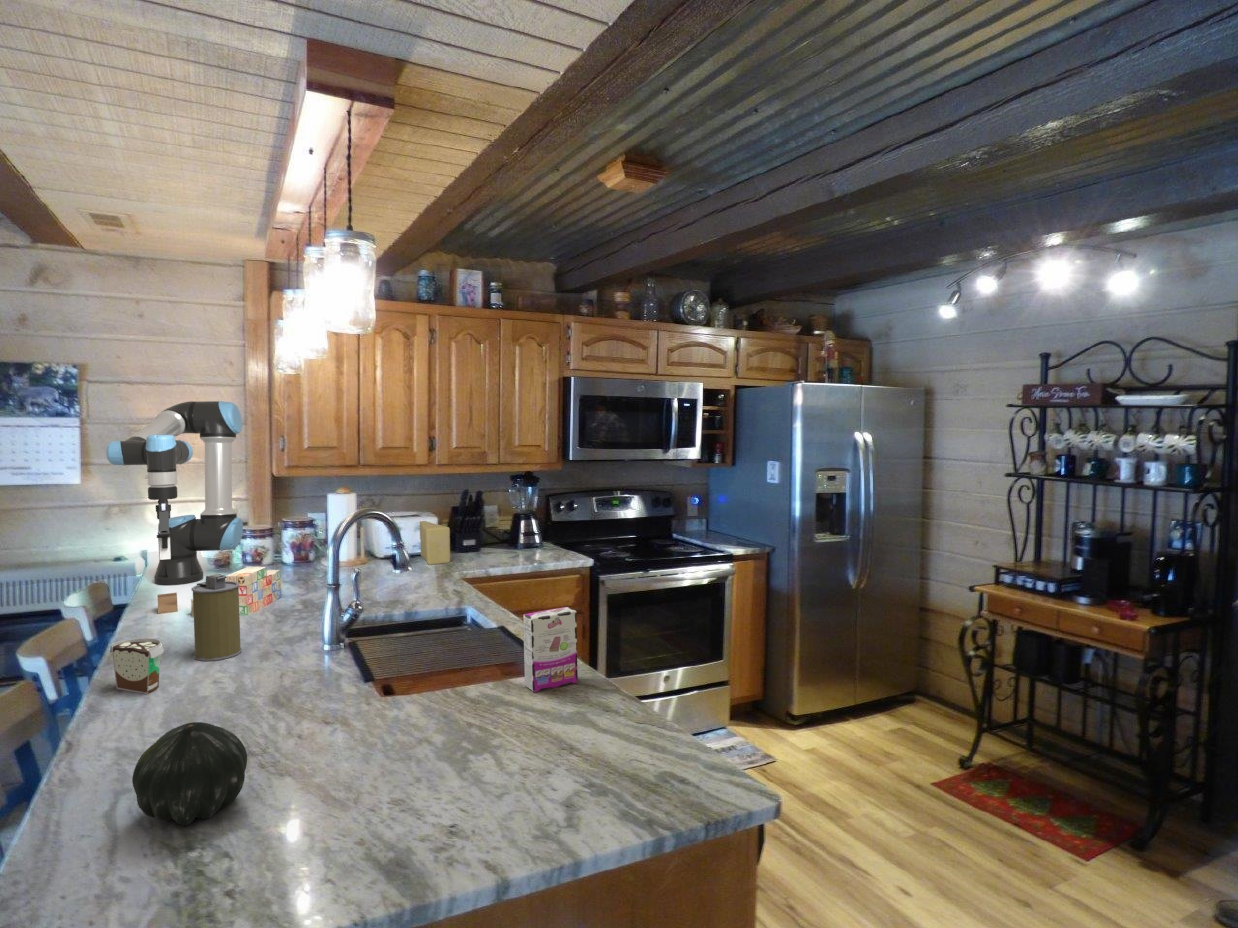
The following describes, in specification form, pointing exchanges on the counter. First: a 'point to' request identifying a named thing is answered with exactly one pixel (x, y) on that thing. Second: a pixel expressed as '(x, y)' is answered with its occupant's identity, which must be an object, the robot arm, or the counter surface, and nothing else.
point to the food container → (137, 664)
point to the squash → (190, 773)
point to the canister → (216, 619)
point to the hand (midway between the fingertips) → (165, 555)
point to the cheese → (435, 543)
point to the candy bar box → (550, 648)
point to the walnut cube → (167, 603)
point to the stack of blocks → (256, 588)
